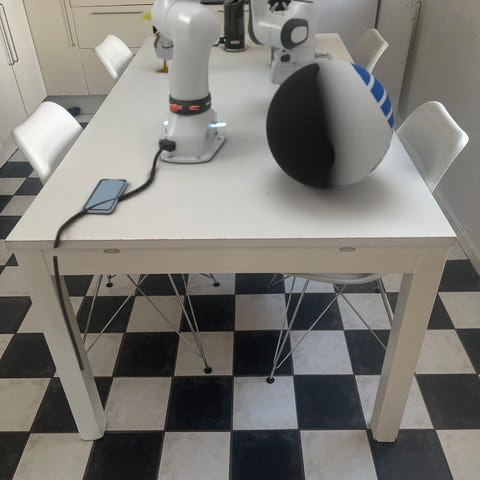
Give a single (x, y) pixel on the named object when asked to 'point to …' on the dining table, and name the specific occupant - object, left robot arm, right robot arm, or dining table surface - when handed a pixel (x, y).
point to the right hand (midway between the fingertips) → (278, 27)
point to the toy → (162, 46)
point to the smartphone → (105, 195)
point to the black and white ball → (329, 124)
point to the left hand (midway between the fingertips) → (299, 95)
